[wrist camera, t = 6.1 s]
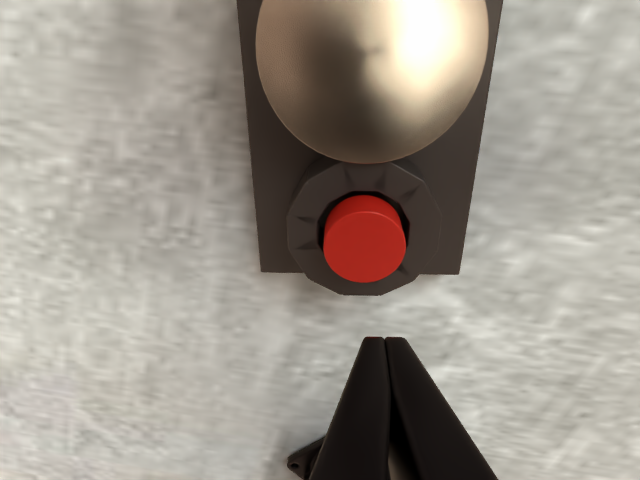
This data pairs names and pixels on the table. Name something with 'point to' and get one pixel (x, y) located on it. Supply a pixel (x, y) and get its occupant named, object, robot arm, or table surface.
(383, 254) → the button
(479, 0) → the warming plate
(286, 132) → the warmer
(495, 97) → the table surface
